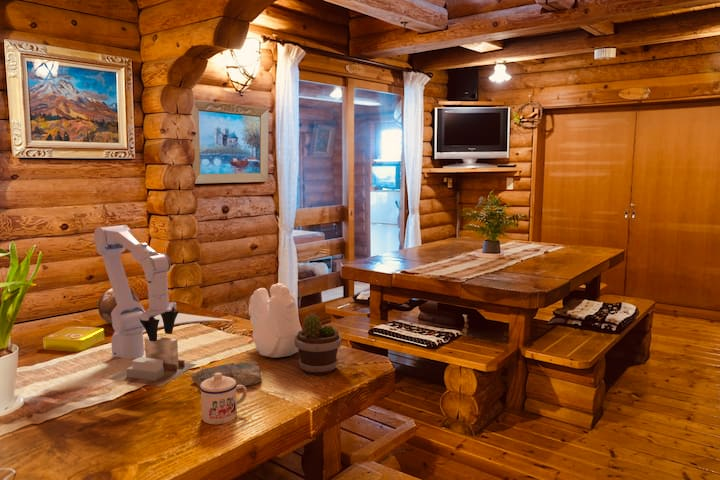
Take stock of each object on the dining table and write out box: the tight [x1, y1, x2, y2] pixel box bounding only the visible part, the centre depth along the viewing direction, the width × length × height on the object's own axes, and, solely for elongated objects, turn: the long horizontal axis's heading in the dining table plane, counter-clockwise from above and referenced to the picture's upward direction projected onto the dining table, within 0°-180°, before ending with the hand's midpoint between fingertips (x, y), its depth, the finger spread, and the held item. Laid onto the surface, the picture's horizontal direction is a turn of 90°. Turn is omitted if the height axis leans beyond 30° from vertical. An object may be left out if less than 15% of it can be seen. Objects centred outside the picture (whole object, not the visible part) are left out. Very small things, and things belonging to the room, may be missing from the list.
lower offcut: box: [125, 365, 164, 381], centre depth 168 cm, size 10×4×2 cm, turn 73°
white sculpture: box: [248, 282, 303, 358], centre depth 191 cm, size 25×16×25 cm, turn 31°
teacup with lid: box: [199, 373, 248, 425], centre depth 144 cm, size 12×9×12 cm
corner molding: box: [143, 312, 233, 334], centre depth 217 cm, size 30×2×30 cm
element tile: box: [42, 325, 106, 353], centre depth 201 cm, size 15×15×5 cm
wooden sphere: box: [97, 287, 141, 325], centre depth 223 cm, size 15×15×15 cm
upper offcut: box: [131, 356, 163, 372], centre depth 168 cm, size 8×4×2 cm, turn 73°
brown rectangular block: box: [144, 336, 179, 368], centre depth 176 cm, size 10×2×9 cm, turn 73°
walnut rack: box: [108, 359, 197, 387], centre depth 172 cm, size 18×18×3 cm
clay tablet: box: [190, 360, 263, 387], centre depth 167 cm, size 14×5×20 cm
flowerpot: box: [294, 310, 343, 376], centre depth 175 cm, size 14×15×20 cm
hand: (161, 337), depth 175 cm, fingers open, 7 cm apart
